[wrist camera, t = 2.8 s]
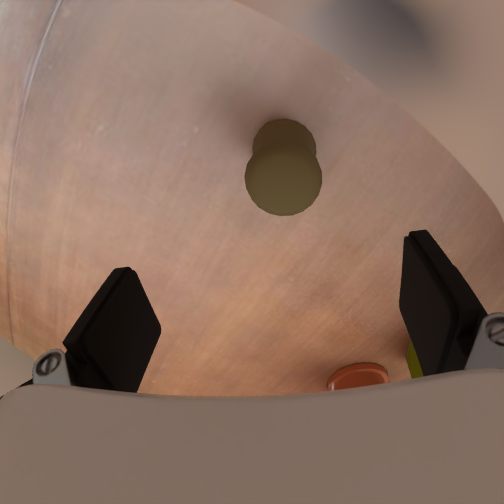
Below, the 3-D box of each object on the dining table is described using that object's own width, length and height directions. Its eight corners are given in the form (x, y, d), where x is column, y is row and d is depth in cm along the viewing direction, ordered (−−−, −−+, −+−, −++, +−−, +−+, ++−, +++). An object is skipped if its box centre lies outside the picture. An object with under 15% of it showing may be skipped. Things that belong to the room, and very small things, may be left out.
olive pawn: (327, 160, 29) (347, 202, 20) (274, 190, 31) (268, 244, 22) (294, 107, 27) (299, 120, 17) (240, 140, 29) (216, 171, 19)
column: (400, 369, 43) (427, 511, 22) (365, 402, 48) (377, 529, 27) (347, 356, 42) (361, 519, 22) (315, 393, 47) (315, 532, 27)
